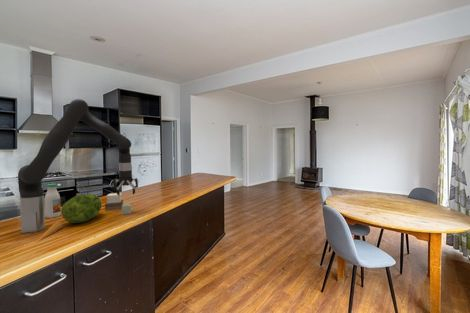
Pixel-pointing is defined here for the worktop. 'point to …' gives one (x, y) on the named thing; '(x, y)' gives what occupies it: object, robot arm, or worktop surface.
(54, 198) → the milk bottle
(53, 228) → the carrot
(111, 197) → the top block
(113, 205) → the base block
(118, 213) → the worktop surface
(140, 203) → the worktop surface
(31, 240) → the worktop surface
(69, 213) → the lettuce
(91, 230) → the worktop surface
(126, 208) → the cube
